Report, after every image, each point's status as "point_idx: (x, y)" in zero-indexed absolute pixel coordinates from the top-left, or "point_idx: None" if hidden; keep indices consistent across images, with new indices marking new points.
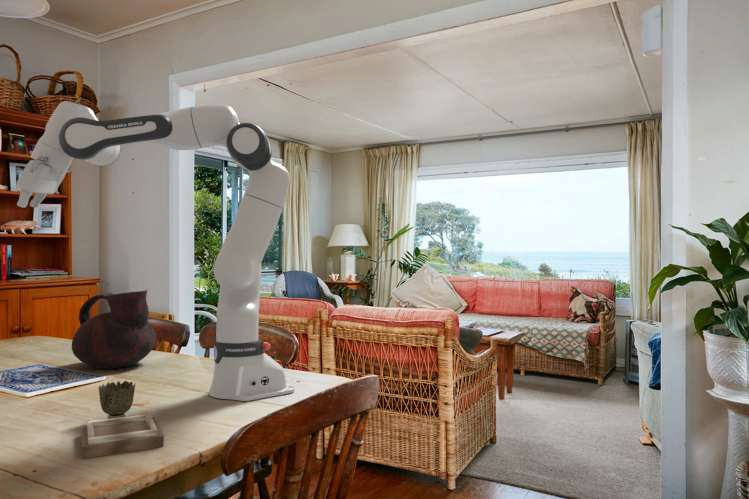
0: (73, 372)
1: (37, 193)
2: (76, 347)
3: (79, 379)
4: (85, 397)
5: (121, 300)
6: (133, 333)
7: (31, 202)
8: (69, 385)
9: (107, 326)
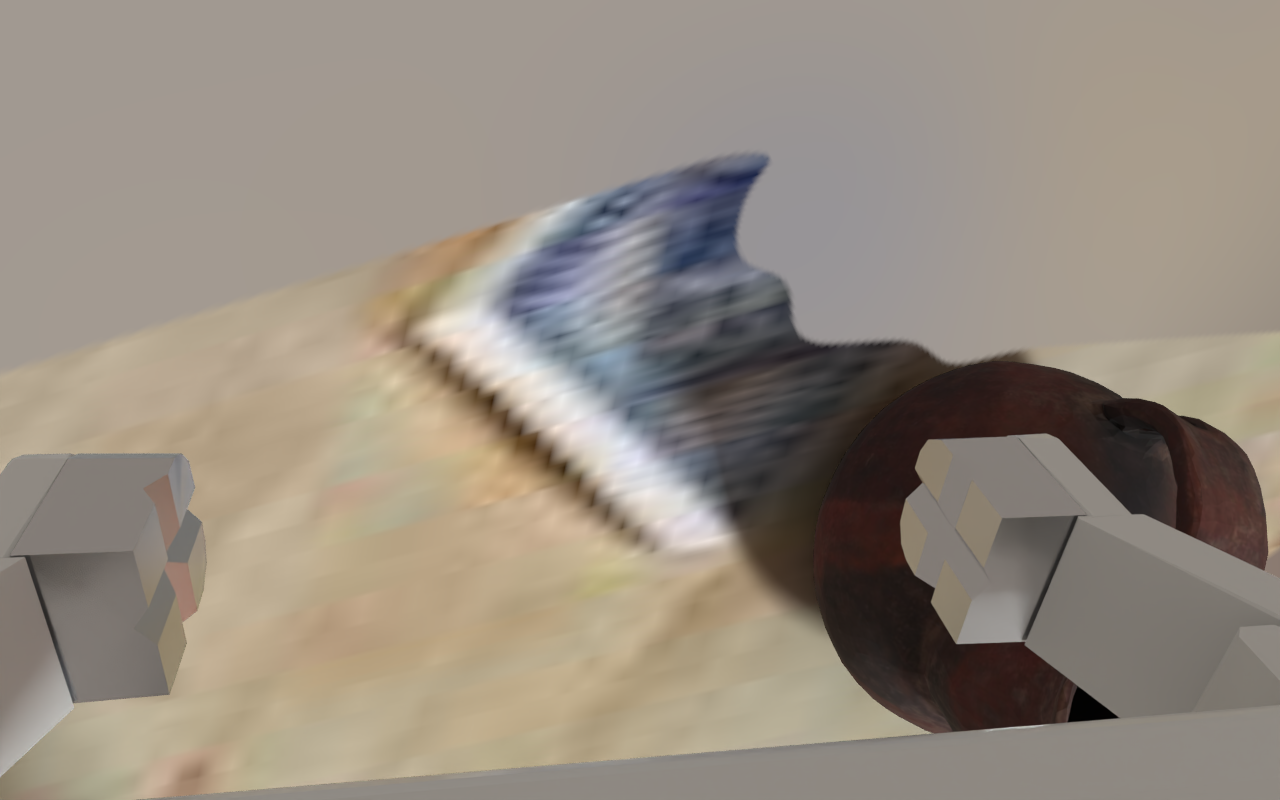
0: (834, 386)
1: (1223, 677)
2: (897, 410)
3: (689, 447)
4: (352, 557)
5: (1032, 710)
6: (905, 692)
7: (965, 488)
8: (584, 437)
9: (924, 586)
